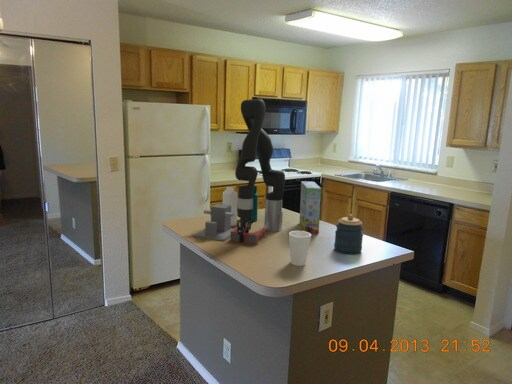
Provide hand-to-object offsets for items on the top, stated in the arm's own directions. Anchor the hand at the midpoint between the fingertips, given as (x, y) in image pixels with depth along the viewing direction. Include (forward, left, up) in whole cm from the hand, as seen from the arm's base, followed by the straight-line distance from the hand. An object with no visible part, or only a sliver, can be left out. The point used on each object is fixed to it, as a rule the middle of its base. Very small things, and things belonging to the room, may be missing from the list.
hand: (243, 240), depth 187 cm
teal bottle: (+12, -41, -1) cm, 43 cm away
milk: (+19, -26, -1) cm, 32 cm away
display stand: (+18, -7, -1) cm, 19 cm away
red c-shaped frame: (0, -6, -1) cm, 6 cm away
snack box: (-24, -40, -1) cm, 47 cm away
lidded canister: (-49, -11, -1) cm, 50 cm away
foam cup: (-31, +16, -1) cm, 35 cm away
